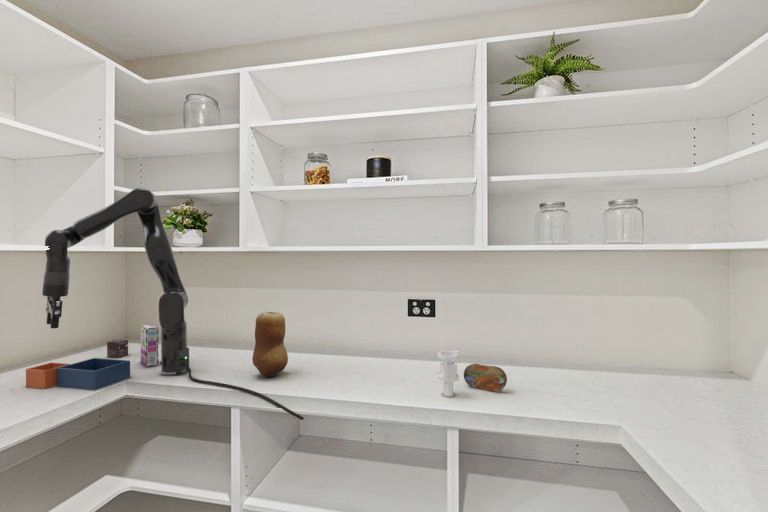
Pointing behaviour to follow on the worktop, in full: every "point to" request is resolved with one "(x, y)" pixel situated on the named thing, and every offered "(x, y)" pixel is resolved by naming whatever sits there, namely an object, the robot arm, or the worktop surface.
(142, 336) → the candy bar box
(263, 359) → the butternut squash
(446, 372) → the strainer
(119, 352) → the box
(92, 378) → the big bin
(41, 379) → the small bin
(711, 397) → the worktop surface
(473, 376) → the tin
